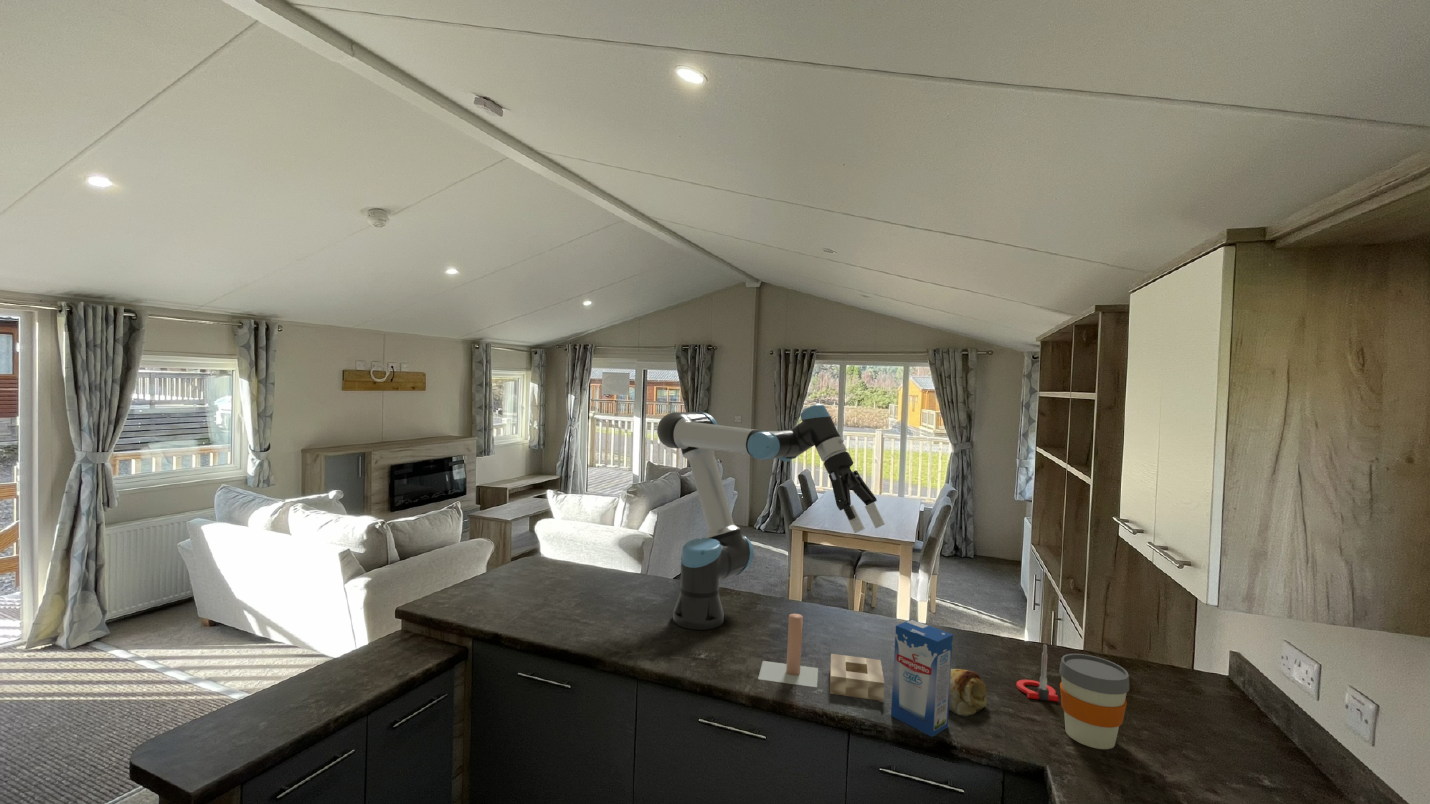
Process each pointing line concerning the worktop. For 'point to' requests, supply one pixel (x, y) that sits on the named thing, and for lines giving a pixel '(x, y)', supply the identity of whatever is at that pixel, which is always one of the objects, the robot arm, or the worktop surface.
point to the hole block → (856, 677)
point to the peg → (794, 644)
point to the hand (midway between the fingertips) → (870, 528)
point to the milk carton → (922, 676)
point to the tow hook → (1039, 683)
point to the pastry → (966, 692)
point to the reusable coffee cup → (1093, 699)
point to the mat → (779, 674)
